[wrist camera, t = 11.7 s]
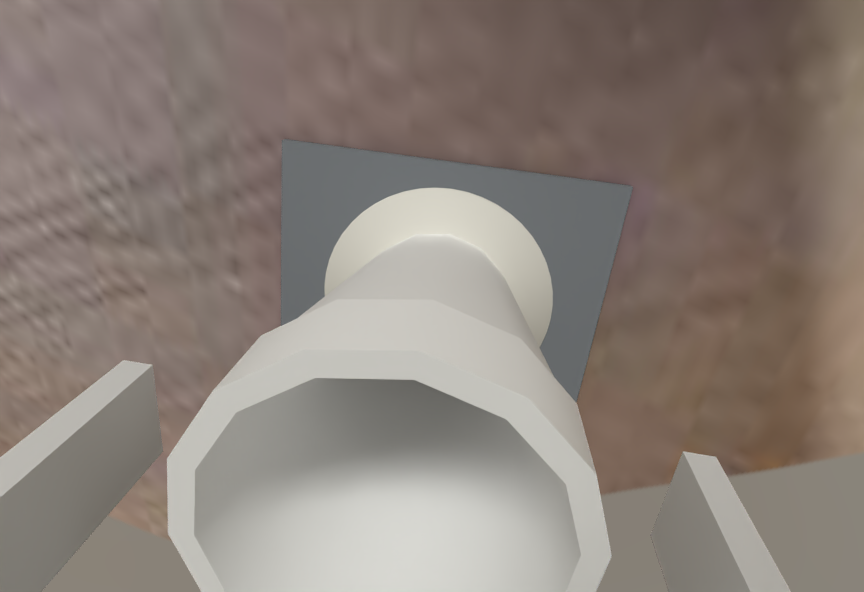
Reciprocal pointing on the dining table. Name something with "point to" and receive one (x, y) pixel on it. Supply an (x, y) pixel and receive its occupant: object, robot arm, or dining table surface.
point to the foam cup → (392, 446)
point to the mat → (455, 233)
